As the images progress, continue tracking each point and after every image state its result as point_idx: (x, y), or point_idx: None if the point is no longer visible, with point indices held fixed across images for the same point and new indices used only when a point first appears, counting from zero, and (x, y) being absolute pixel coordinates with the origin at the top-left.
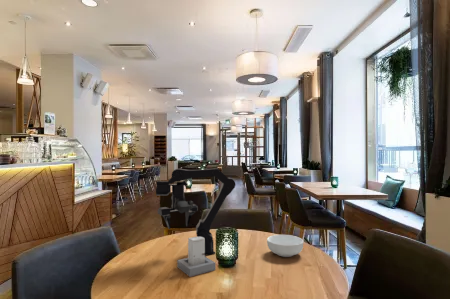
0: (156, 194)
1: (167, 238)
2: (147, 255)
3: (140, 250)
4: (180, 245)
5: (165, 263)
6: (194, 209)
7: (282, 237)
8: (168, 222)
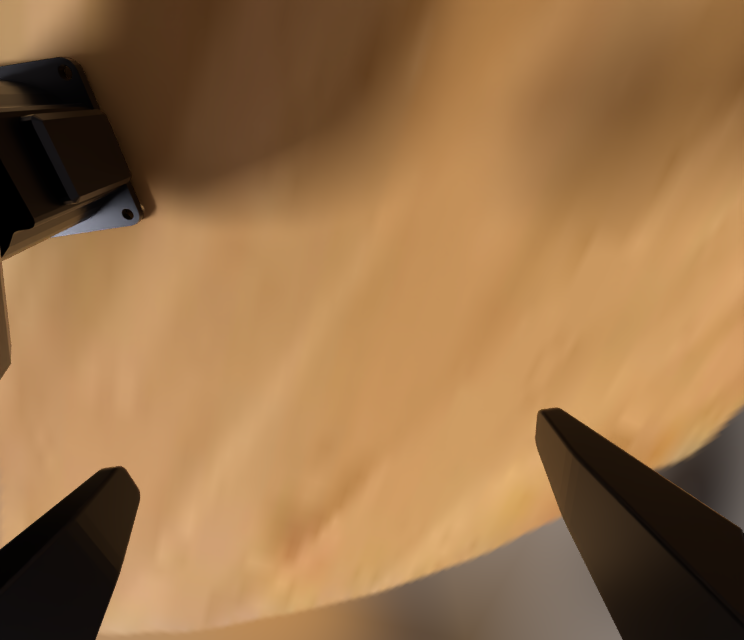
0: None
1: (330, 576)
2: (579, 342)
3: None
4: (273, 443)
5: (543, 50)
6: None
7: None
8: (732, 538)
